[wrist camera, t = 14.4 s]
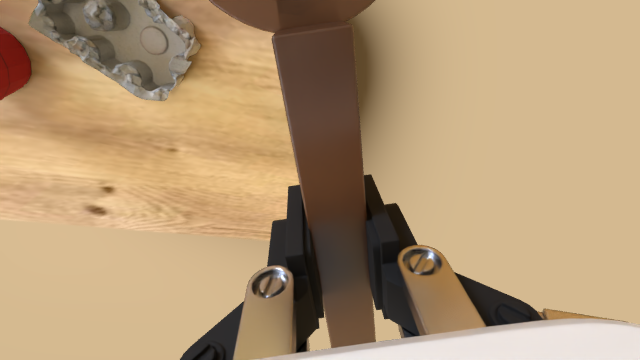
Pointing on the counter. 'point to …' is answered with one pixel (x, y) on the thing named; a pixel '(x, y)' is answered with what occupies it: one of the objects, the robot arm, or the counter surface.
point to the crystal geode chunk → (122, 41)
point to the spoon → (324, 145)
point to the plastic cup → (12, 64)
